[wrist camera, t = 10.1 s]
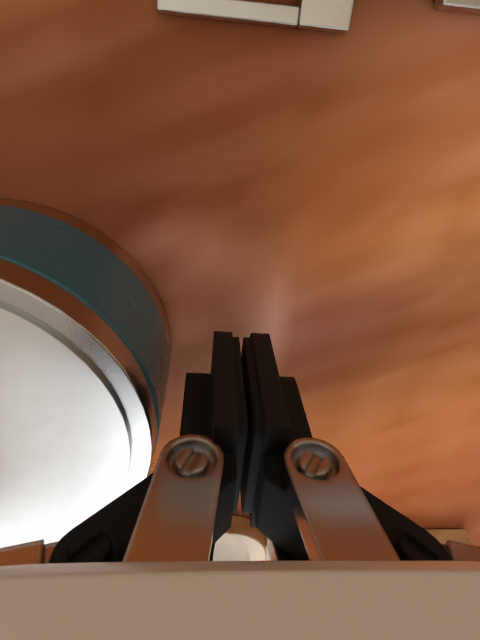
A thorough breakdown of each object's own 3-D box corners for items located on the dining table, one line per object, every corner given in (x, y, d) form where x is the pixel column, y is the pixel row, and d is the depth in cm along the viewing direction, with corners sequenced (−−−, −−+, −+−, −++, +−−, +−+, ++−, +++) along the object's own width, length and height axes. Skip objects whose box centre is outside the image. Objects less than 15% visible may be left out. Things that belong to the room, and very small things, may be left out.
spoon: (473, 511, 19) (484, 529, 18) (446, 561, 21) (455, 579, 20) (163, 511, 18) (161, 530, 17) (164, 564, 19) (162, 583, 19)
